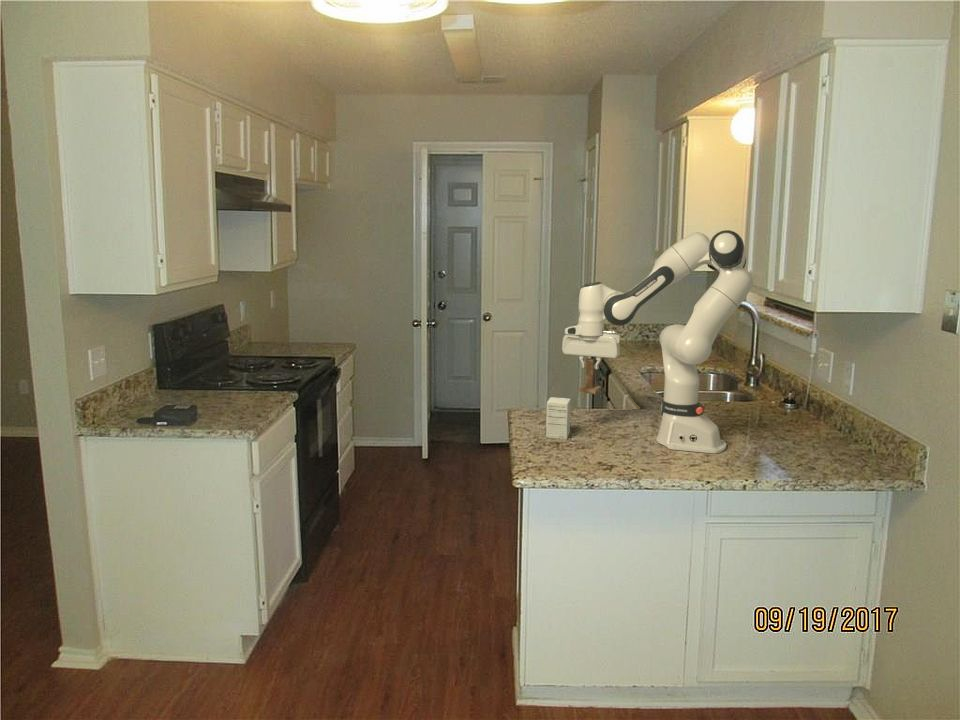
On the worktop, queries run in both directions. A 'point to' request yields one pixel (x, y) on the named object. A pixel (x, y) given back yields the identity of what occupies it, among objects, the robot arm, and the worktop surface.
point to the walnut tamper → (590, 379)
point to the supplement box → (558, 418)
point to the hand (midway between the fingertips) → (590, 368)
